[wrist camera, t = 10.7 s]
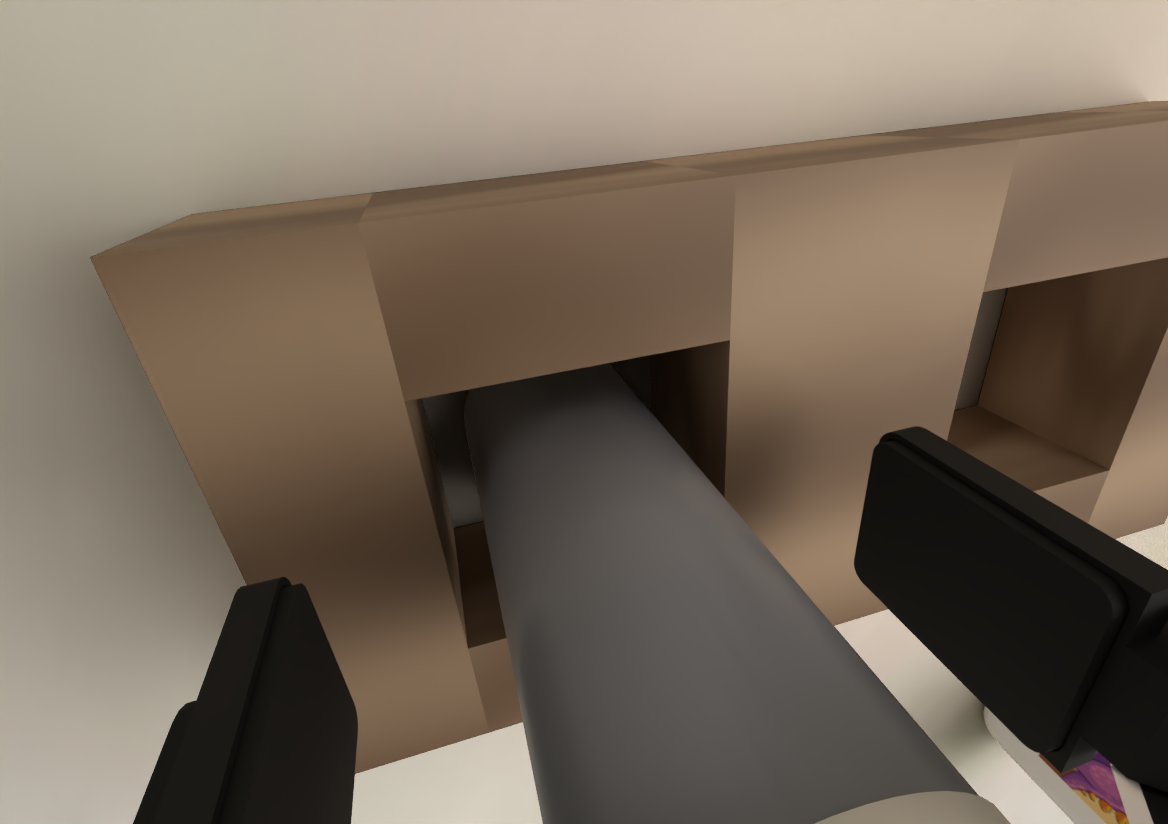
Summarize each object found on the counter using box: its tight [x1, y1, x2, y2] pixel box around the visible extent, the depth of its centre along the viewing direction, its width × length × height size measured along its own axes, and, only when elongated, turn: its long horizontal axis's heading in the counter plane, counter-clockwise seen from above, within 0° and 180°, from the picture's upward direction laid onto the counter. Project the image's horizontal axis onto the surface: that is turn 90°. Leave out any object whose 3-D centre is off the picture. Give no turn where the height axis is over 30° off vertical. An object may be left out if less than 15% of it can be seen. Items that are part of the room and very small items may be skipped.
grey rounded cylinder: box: [464, 363, 1010, 824], centre depth 9 cm, size 4×4×12 cm
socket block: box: [90, 101, 1168, 774], centre depth 14 cm, size 11×23×4 cm, turn 95°
